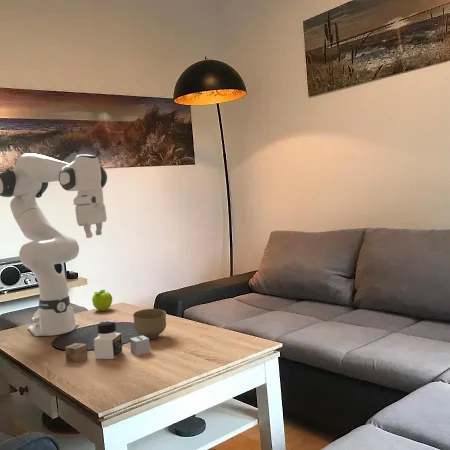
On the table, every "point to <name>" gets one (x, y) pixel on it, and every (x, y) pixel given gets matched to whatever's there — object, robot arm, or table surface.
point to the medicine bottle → (107, 341)
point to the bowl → (150, 322)
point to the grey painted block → (139, 345)
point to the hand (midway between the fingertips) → (94, 236)
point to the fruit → (102, 300)
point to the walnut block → (76, 352)
